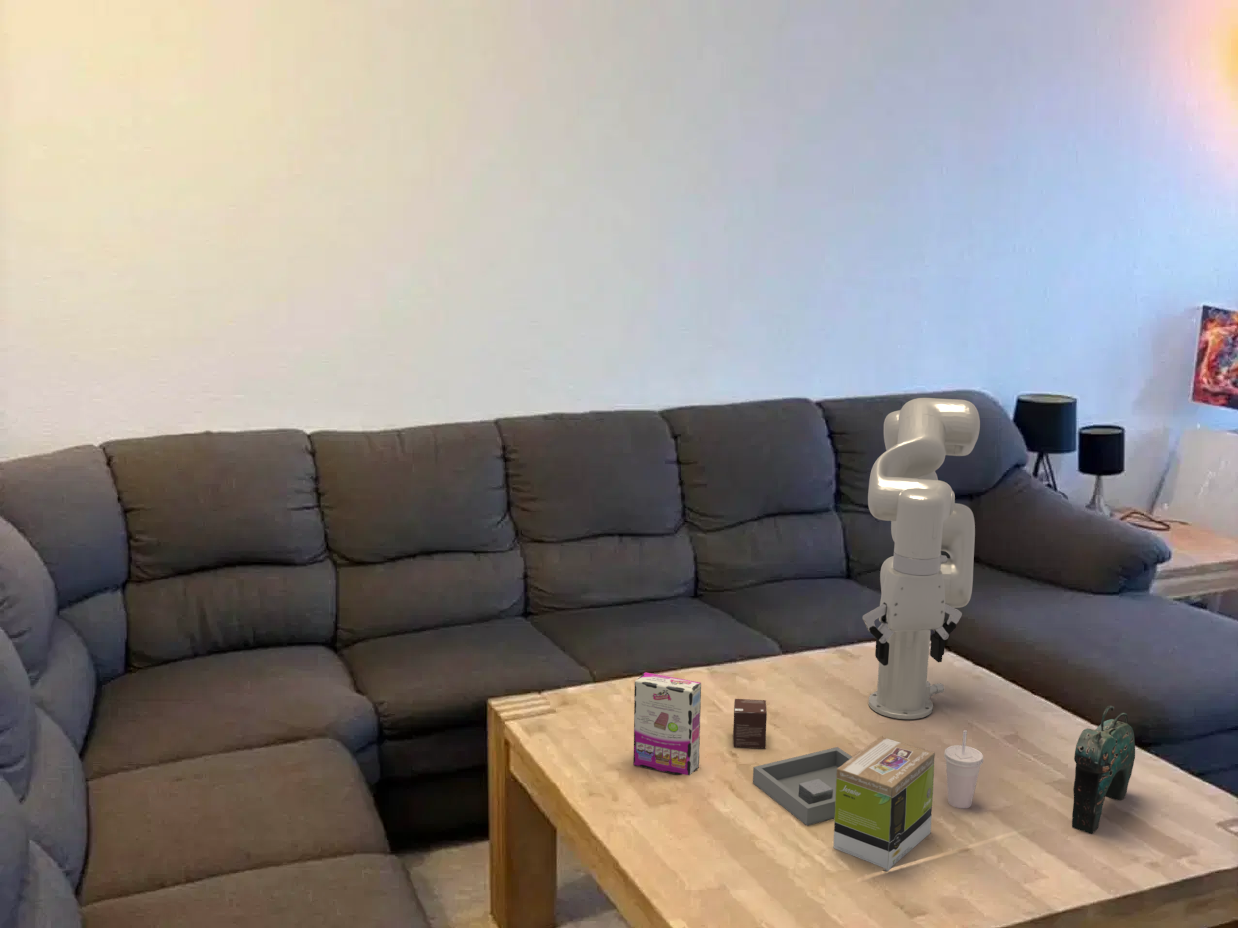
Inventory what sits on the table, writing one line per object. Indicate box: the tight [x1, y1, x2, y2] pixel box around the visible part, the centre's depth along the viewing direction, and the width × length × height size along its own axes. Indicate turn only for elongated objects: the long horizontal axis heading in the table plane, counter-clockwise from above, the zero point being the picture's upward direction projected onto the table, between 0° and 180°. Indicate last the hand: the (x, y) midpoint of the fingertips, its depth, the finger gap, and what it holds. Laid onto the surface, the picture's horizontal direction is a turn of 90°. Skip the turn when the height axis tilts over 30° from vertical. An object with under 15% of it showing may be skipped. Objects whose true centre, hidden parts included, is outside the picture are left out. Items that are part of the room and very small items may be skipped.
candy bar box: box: [632, 671, 702, 776], centre depth 222 cm, size 11×5×16 cm, turn 65°
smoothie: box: [943, 729, 984, 809], centre depth 210 cm, size 6×6×14 cm
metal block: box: [798, 779, 833, 804], centre depth 208 cm, size 4×4×4 cm
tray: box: [752, 746, 853, 826], centre depth 214 cm, size 18×16×4 cm
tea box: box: [832, 735, 936, 872], centre depth 198 cm, size 15×10×15 cm
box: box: [732, 698, 768, 750], centre depth 233 cm, size 6×6×7 cm
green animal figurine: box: [1071, 705, 1136, 835], centre depth 208 cm, size 20×6×20 cm, turn 139°
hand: (909, 660), depth 210 cm, fingers open, 9 cm apart
